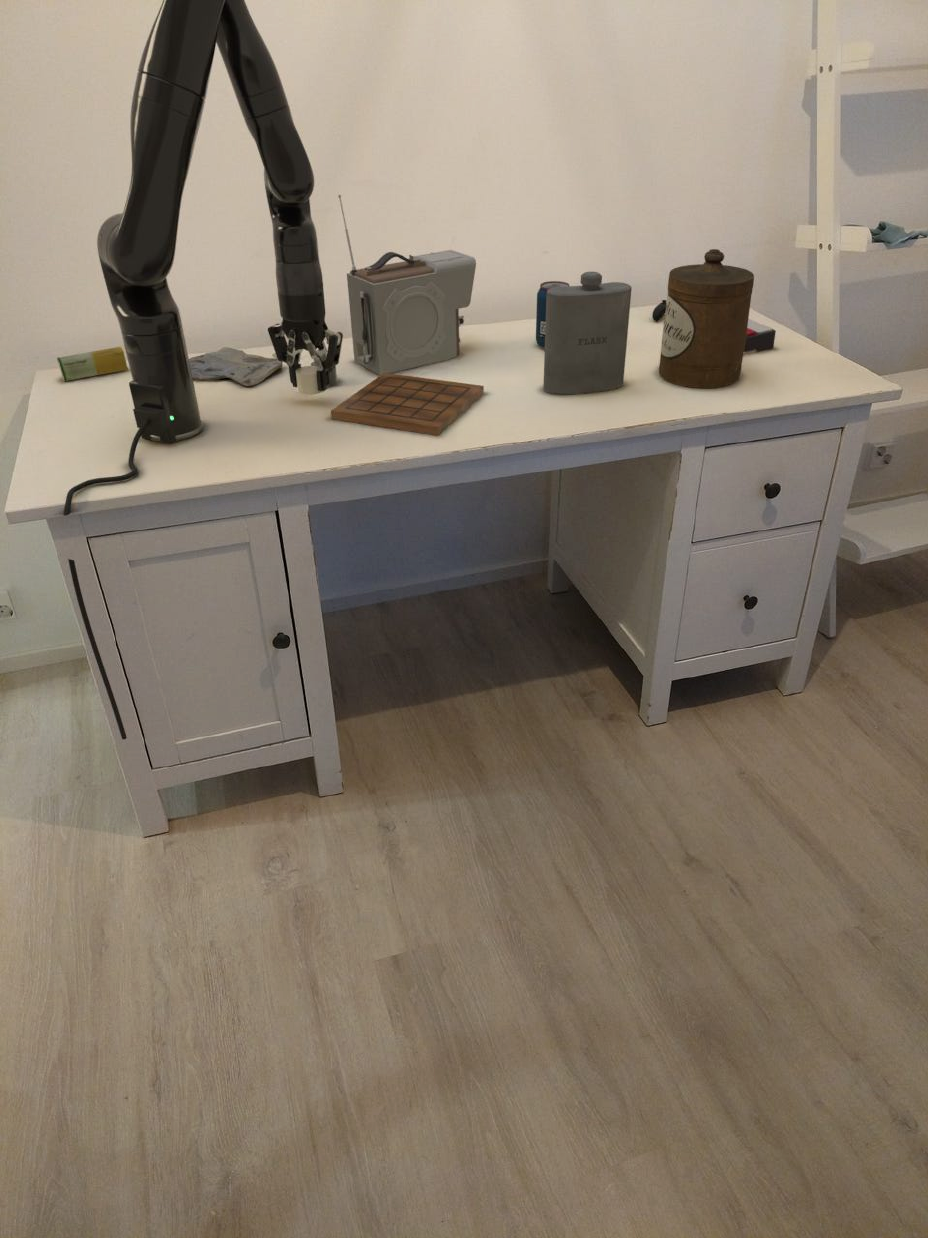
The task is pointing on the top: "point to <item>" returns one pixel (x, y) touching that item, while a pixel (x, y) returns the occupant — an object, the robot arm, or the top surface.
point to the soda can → (543, 310)
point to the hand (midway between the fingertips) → (310, 387)
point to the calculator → (759, 337)
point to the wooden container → (705, 323)
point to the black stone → (330, 374)
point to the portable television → (408, 308)
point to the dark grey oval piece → (659, 311)
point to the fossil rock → (233, 366)
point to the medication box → (92, 363)
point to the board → (408, 403)
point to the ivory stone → (307, 380)
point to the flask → (586, 336)
